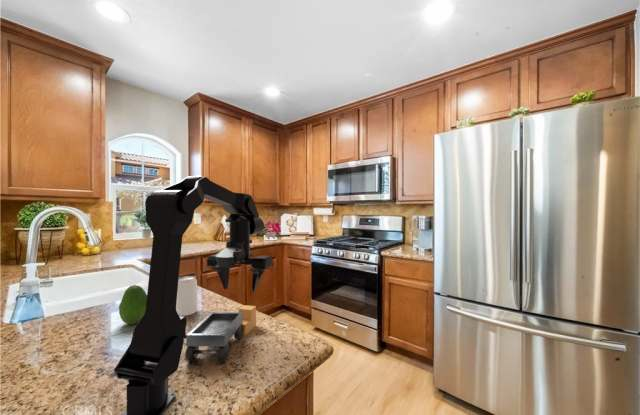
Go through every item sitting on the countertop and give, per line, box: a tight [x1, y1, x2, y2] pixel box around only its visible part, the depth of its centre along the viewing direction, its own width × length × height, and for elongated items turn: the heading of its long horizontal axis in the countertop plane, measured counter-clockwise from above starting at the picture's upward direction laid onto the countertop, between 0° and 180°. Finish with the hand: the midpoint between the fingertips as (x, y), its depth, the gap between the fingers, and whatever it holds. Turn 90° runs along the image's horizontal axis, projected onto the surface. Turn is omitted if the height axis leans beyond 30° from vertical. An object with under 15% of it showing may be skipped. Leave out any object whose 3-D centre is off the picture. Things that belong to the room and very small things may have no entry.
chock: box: [238, 305, 257, 336], centre depth 77 cm, size 6×4×6 cm, turn 164°
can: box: [176, 275, 198, 317], centre depth 89 cm, size 6×6×12 cm
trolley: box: [184, 311, 244, 363], centre depth 66 cm, size 14×9×7 cm, turn 179°
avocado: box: [118, 284, 147, 325], centre depth 81 cm, size 8×8×12 cm
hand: (239, 290), depth 76 cm, fingers open, 9 cm apart
